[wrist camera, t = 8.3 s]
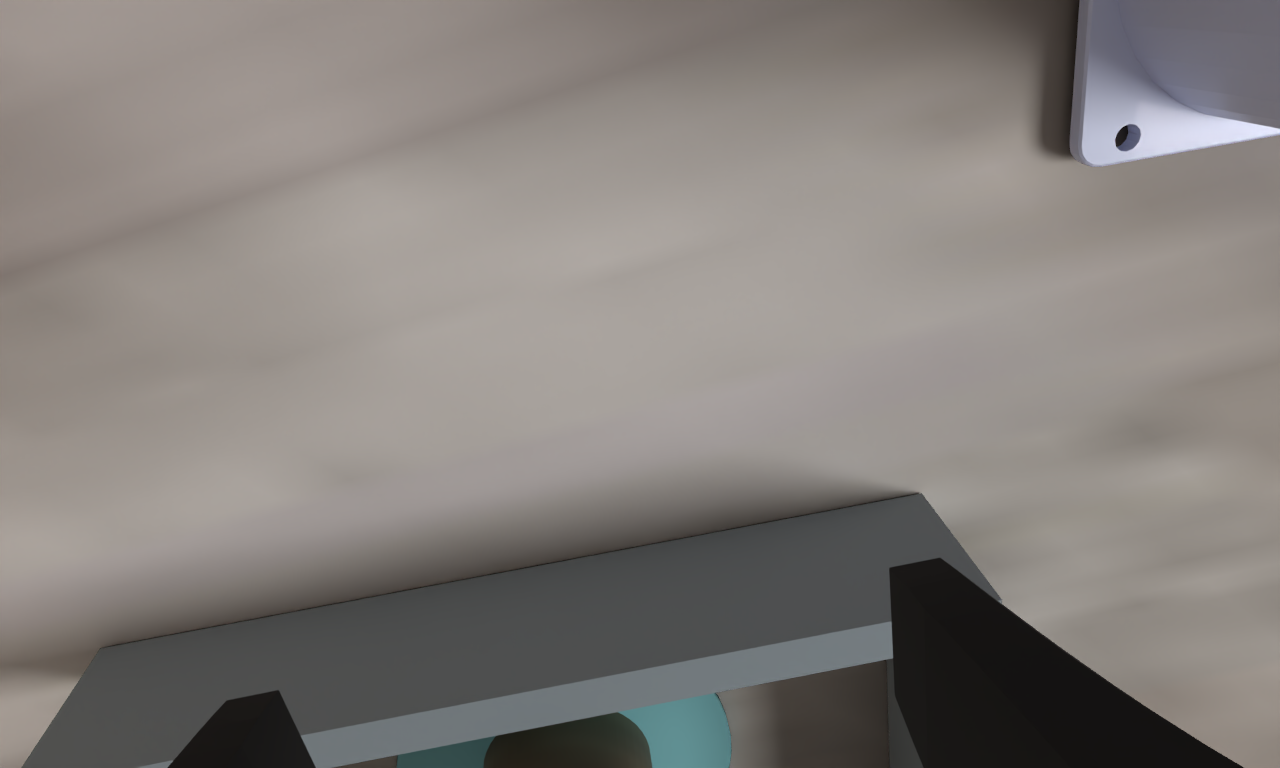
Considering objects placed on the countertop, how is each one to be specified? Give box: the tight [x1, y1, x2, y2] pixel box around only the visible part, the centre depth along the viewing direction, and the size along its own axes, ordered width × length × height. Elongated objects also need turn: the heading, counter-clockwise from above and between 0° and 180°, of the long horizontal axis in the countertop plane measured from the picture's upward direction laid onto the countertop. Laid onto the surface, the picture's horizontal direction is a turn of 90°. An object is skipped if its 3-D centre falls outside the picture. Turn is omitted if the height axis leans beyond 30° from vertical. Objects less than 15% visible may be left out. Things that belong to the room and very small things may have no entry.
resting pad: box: [397, 693, 731, 768], centre depth 23 cm, size 9×9×1 cm
